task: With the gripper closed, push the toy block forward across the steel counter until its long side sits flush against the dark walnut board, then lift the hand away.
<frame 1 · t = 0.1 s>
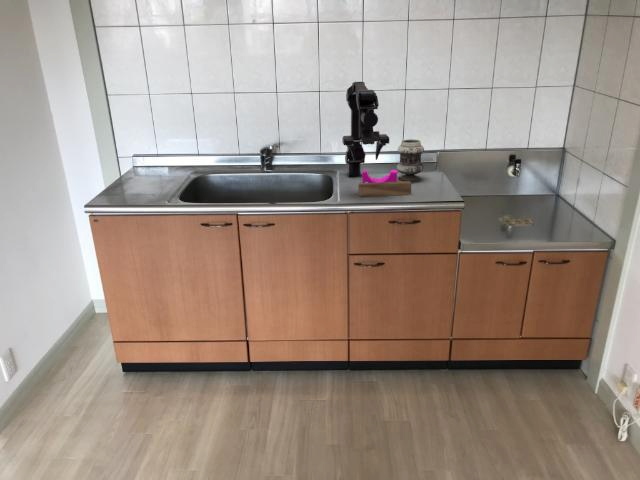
hand: (365, 160, 212), 15 cm above the countertop, tool pointing down, fingers open, 9 cm apart
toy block: (379, 187, 226), on the countertop
apothecary jar: (409, 179, 235), on the countertop
walnut board: (384, 194, 215), on the countertop
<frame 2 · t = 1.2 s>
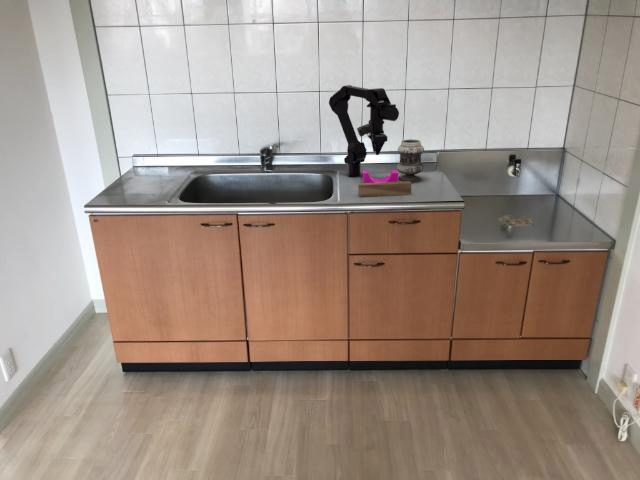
hand: (375, 153, 228), 13 cm above the countertop, tool pointing down, fingers open, 6 cm apart
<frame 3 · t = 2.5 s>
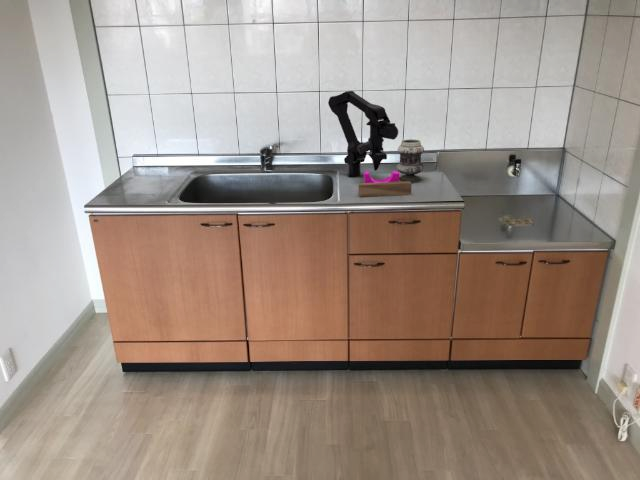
hand: (375, 170, 232), 5 cm above the countertop, tool pointing down, fingers closed
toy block: (380, 188, 224), on the countertop
everything else where it was.
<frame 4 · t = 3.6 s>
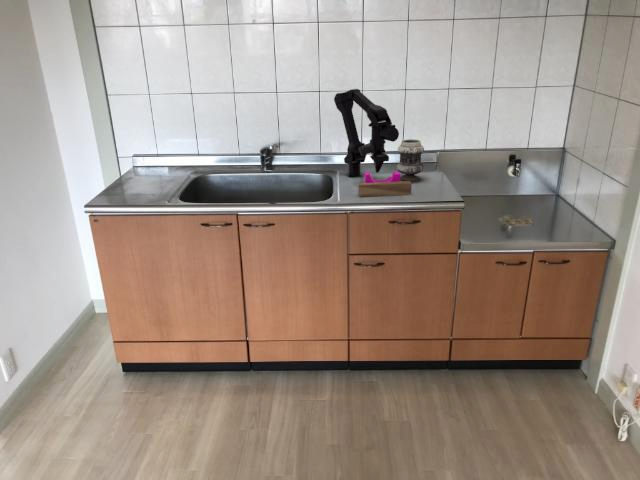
hand: (377, 172, 229), 5 cm above the countertop, tool pointing down, fingers closed
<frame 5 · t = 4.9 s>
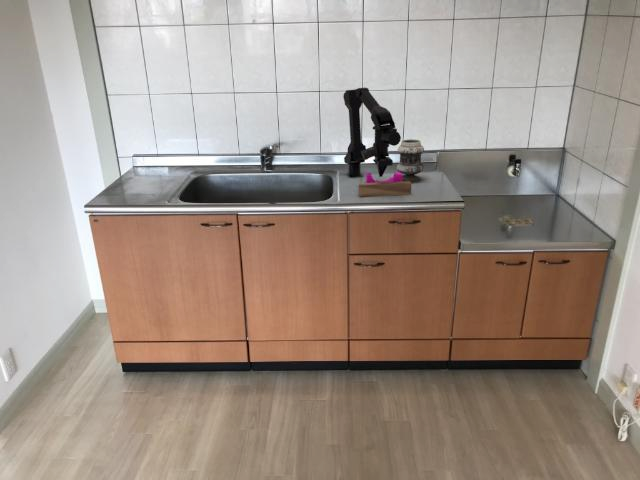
hand: (380, 176, 222), 5 cm above the countertop, tool pointing down, fingers closed
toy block: (383, 190, 222), on the countertop, touching gripper
everything else where it was.
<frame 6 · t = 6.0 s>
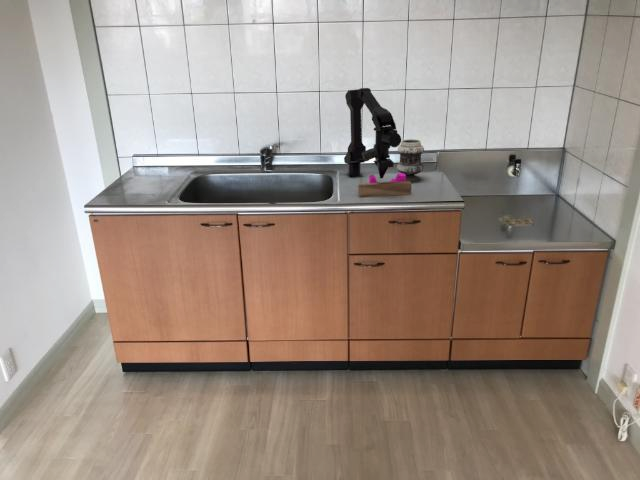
hand: (381, 178, 220), 5 cm above the countertop, tool pointing down, fingers closed
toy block: (386, 191, 220), on the countertop
everything else where it was.
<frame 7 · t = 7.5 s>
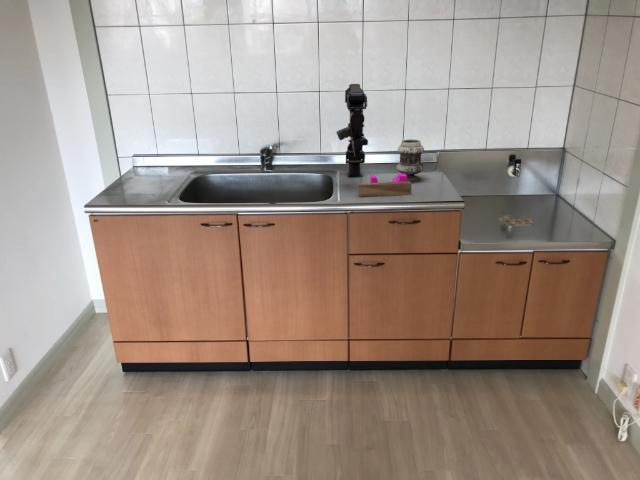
hand: (356, 157, 224), 13 cm above the countertop, tool pointing down, fingers closed
nothing on the countertop moved.
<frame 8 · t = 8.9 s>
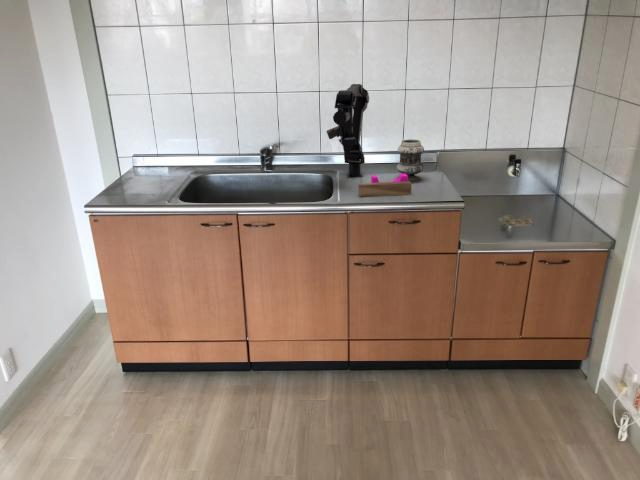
hand: (346, 156, 225), 13 cm above the countertop, tool pointing down, fingers closed
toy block: (388, 191, 220), on the countertop, touching walnut board
everything else where it was.
at the end: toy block inside the target area on the countertop beside the walnut board (2.7 cm from its centre), on the countertop; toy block tilted 0° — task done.
